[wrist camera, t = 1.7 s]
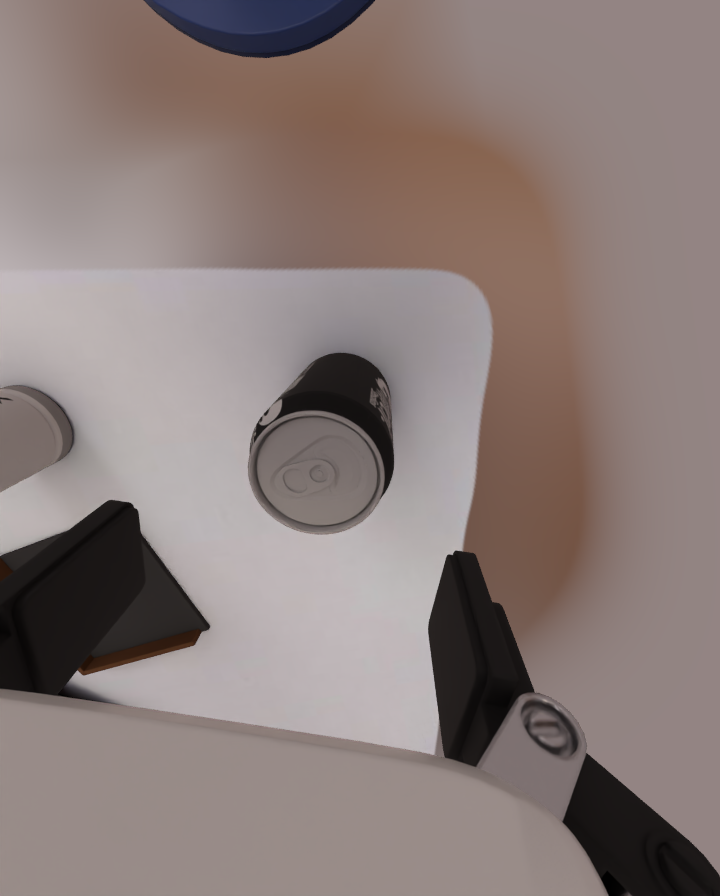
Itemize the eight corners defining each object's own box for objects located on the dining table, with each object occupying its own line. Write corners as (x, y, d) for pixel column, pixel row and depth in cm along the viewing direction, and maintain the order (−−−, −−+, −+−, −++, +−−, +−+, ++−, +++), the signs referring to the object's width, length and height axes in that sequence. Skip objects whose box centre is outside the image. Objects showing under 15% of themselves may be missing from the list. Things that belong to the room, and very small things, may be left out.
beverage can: (402, 425, 27) (414, 521, 16) (318, 452, 29) (277, 557, 18) (372, 336, 25) (363, 378, 14) (282, 369, 26) (209, 431, 15)
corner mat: (0, 555, 34) (-21, 570, 33) (123, 509, 32) (107, 523, 30) (96, 658, 39) (82, 675, 38) (210, 626, 36) (201, 643, 35)
